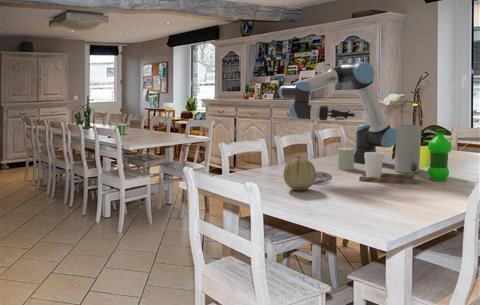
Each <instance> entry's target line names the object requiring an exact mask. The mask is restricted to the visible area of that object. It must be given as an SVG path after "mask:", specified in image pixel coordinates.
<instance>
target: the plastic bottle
mask: <svg viewBox="0 0 480 305" xmlns="http://www.w3.org/2000/svg"><path fill="white" fill-rule="evenodd" d="M435 134H436V136H435V137H433V138H432V139H431V140H429V141H428V144H427V145H428V150H429V152H430V157H429V158H430V159H429V160H430V162H429V167H428V169H427V174H428V176H429V178H431V179H432V180H433V181H438V182H439V181H440V182H441V181H442V182H443V181H444V180H446V179H447V178H448V177H449V175H450V171H449V170H450V169H449V168H448V162H449V153H450V152H451V150H452V147H453V146H452V143H451V141H450V140H449V139H448V138H446V136H445V134H446V129H445V128H444V129H443V128H436V129H435Z"/></svg>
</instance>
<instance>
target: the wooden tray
mask: <svg viewBox="0 0 480 305" xmlns="http://www.w3.org/2000/svg"><path fill="white" fill-rule="evenodd" d="M411 170H412V174H407V173H391V172H390V173H388V172H381V176H380V178H377V177H367V176H366V171H362V175H361V176H359V179H358V180H359V182H370V183H371V182H372V183H373V182H374V183H387V184H403V185H415V182H416V173H415V171H416V170H417V163H415V162H413V163H412V164H411Z"/></svg>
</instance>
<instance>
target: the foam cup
mask: <svg viewBox="0 0 480 305" xmlns="http://www.w3.org/2000/svg"><path fill="white" fill-rule="evenodd" d="M364 158H365V163H364V165H365V172H366V176H365V177H377V178H381V177H380V176H381V173H382V169H383V164H384V159H385V153H383V152H377V151H376V152H366V153H364Z"/></svg>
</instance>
